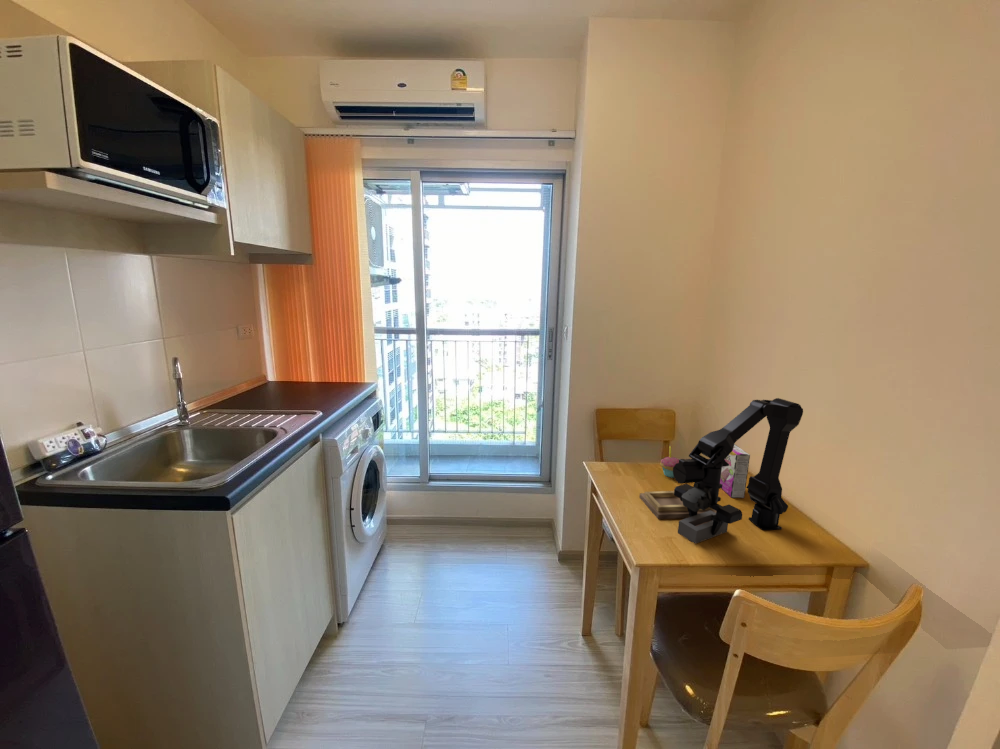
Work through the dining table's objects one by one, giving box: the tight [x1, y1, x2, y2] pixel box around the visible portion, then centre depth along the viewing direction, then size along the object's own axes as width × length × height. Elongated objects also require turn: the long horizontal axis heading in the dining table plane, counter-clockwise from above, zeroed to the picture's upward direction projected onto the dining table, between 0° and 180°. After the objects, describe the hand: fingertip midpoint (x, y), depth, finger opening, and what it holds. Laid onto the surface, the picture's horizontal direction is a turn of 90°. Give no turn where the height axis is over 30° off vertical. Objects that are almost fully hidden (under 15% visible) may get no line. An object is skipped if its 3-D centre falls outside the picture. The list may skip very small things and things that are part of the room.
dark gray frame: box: [677, 510, 729, 544], centre depth 122 cm, size 14×6×4 cm, turn 117°
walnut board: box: [639, 490, 716, 520], centre depth 137 cm, size 20×14×3 cm
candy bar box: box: [720, 444, 751, 499], centre depth 148 cm, size 11×5×16 cm, turn 179°
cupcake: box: [659, 445, 680, 478], centre depth 161 cm, size 9×8×12 cm
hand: (702, 528), depth 123 cm, fingers open, 7 cm apart
